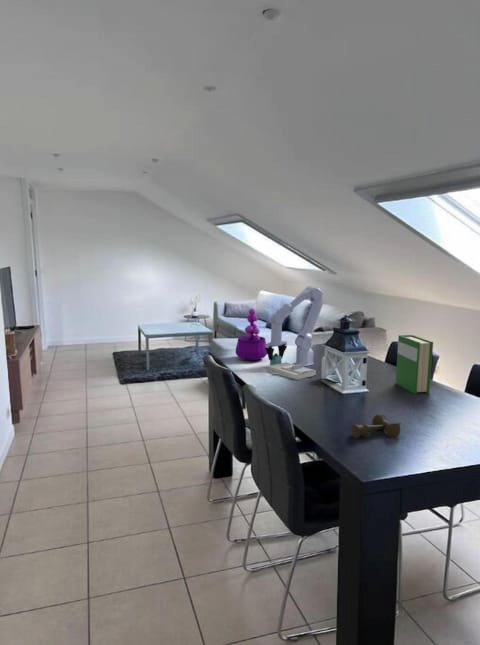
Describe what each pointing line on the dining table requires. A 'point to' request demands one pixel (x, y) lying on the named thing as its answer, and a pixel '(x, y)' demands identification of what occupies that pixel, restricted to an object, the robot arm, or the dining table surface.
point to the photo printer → (323, 368)
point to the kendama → (376, 427)
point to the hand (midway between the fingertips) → (275, 359)
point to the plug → (275, 359)
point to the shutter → (299, 368)
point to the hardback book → (414, 363)
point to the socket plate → (289, 371)
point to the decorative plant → (251, 341)
